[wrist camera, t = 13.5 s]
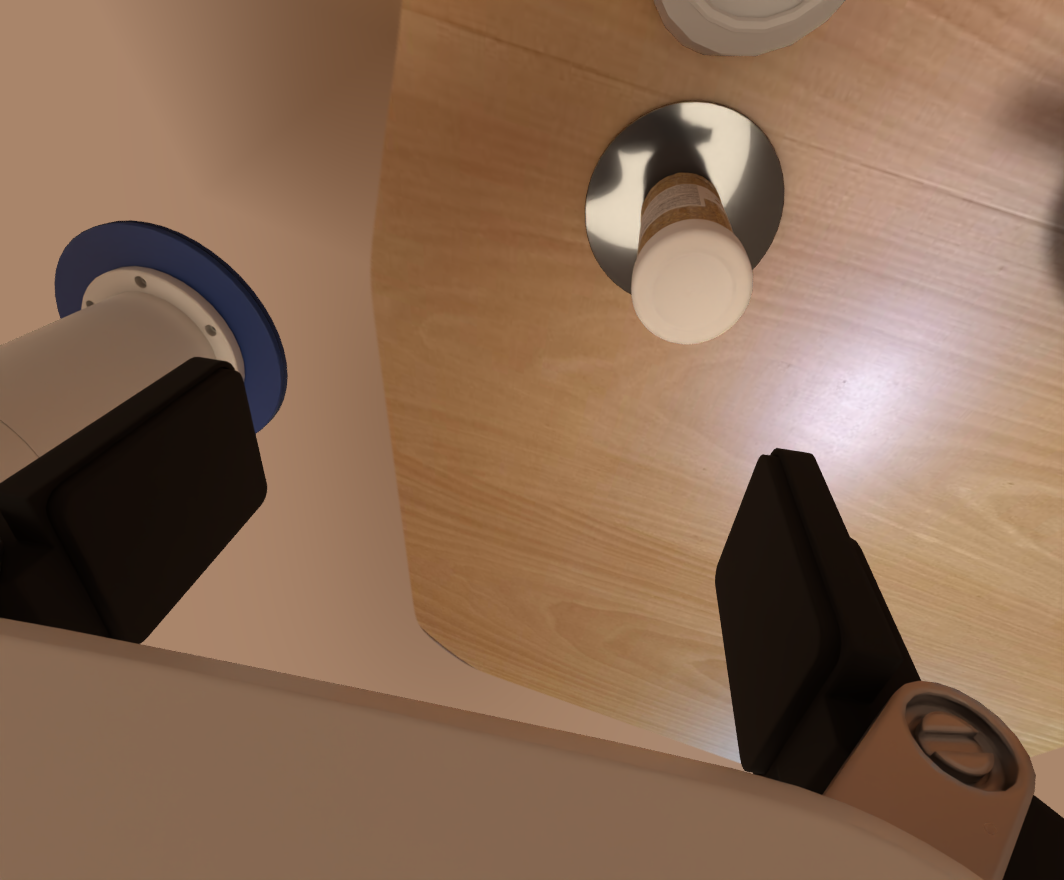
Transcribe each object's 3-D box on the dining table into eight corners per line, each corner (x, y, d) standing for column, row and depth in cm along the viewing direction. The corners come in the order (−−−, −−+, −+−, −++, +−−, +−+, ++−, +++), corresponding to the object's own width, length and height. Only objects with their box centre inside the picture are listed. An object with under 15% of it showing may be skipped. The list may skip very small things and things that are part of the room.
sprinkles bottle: (726, 242, 33) (761, 334, 22) (647, 262, 34) (643, 358, 23) (715, 158, 31) (747, 215, 20) (631, 183, 32) (618, 249, 21)
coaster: (618, 324, 37) (618, 327, 37) (558, 151, 32) (557, 152, 32) (798, 268, 34) (799, 271, 33) (761, 61, 28) (763, 61, 28)
